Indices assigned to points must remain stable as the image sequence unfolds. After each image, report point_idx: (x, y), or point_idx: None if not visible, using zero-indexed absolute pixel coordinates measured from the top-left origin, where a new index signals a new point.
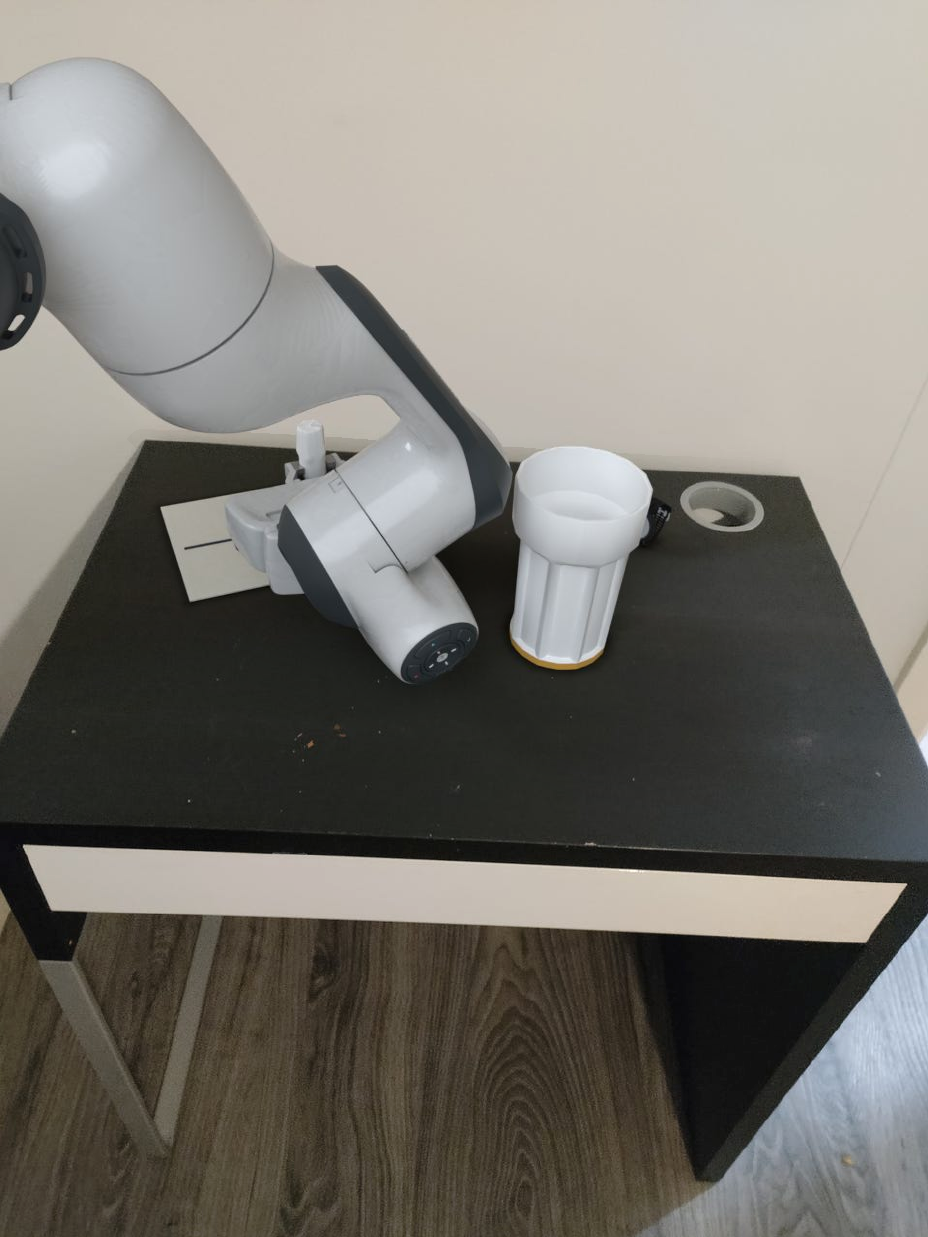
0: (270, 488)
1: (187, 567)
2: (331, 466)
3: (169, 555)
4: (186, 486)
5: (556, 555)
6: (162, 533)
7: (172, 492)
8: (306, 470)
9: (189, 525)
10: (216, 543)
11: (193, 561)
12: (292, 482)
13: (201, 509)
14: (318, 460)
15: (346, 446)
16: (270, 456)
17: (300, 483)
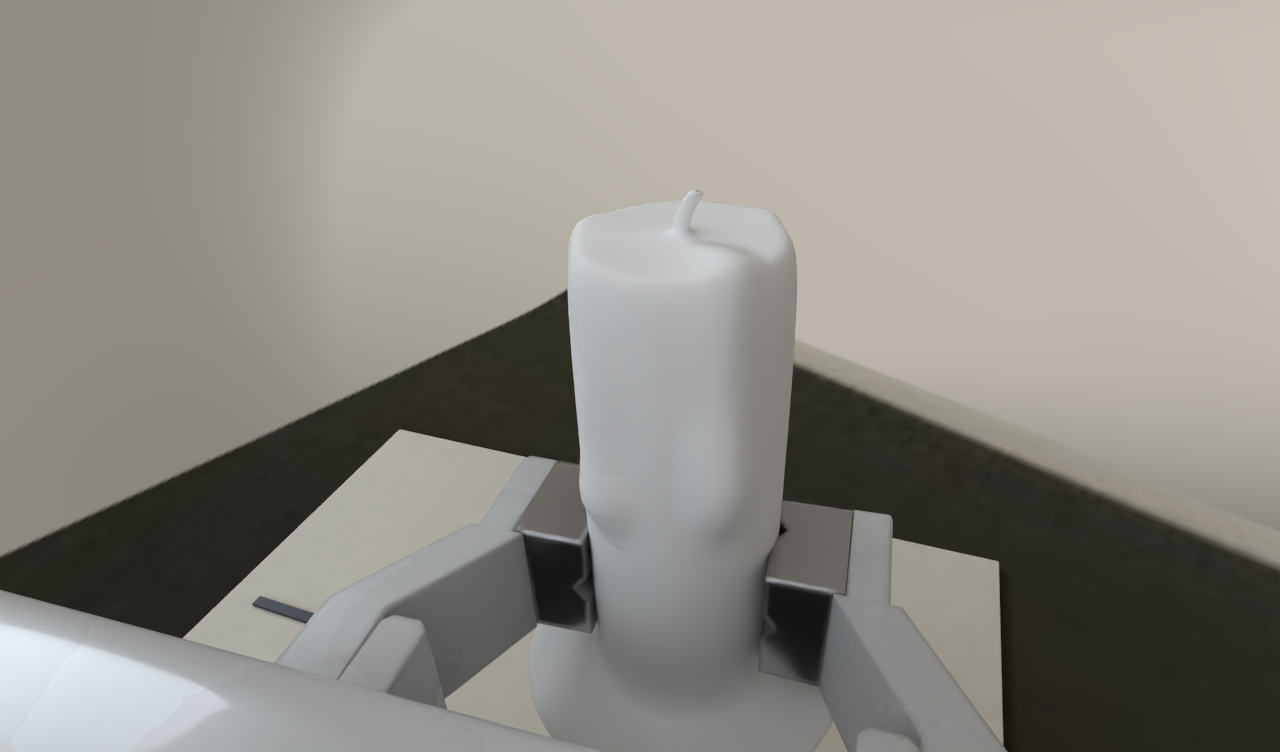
0: (54, 631)
1: None
2: (795, 612)
3: (210, 600)
4: (525, 400)
5: None
6: (305, 510)
7: (479, 402)
8: (595, 563)
9: (379, 520)
10: None
11: None
12: (353, 634)
13: (469, 482)
14: (673, 538)
15: (1074, 458)
16: (806, 402)
17: (247, 725)
